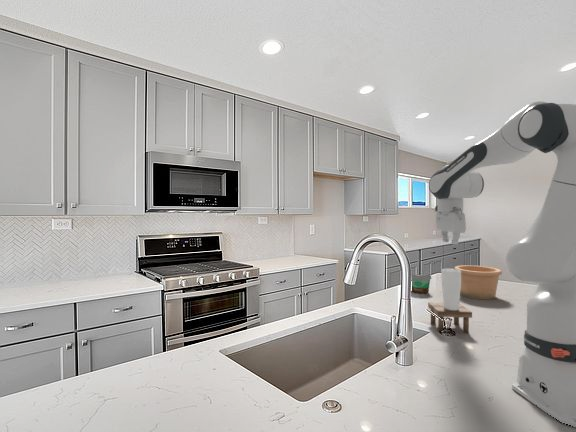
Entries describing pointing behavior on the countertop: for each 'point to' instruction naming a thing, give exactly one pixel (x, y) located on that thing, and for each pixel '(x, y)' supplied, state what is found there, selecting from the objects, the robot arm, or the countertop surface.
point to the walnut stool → (450, 315)
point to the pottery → (479, 281)
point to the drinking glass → (451, 288)
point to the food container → (420, 284)
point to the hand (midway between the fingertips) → (450, 243)
